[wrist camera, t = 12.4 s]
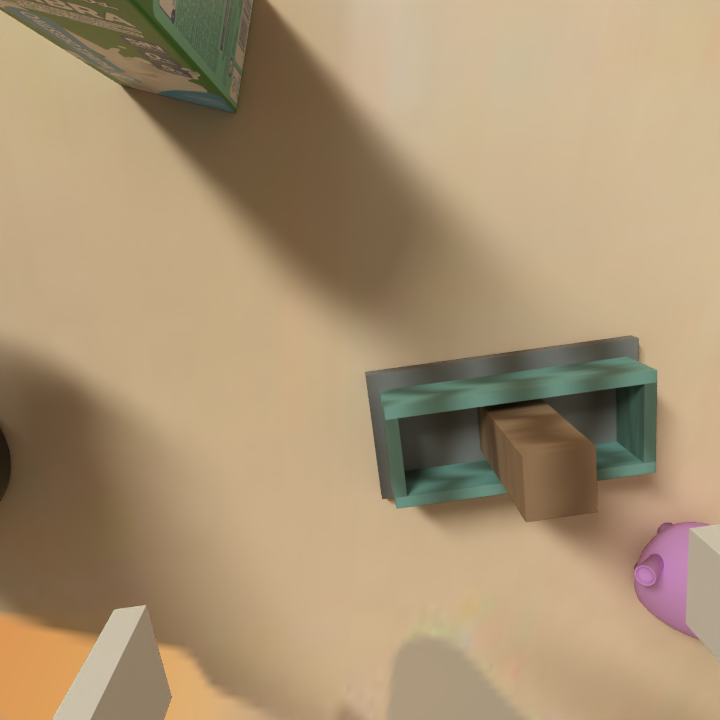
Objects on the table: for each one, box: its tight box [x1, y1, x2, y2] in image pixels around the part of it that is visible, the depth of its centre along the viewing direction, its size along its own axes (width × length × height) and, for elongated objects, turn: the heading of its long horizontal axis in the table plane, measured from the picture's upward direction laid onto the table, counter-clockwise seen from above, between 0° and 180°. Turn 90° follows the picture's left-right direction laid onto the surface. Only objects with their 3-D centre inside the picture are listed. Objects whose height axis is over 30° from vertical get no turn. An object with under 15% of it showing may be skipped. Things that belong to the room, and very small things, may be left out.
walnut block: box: [477, 398, 597, 522], centre depth 42 cm, size 5×5×12 cm
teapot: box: [634, 522, 710, 639], centre depth 49 cm, size 10×15×9 cm
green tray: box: [365, 336, 657, 509], centre depth 46 cm, size 24×12×6 cm, turn 98°
